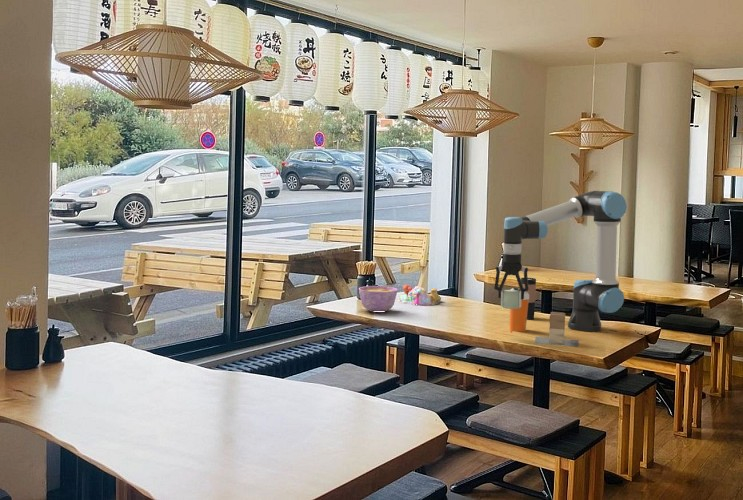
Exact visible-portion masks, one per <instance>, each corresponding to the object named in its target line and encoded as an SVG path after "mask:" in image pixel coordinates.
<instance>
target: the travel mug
mask: <svg viewBox="0 0 743 500" xmlns="http://www.w3.org/2000/svg"><path fill="white" fill-rule="evenodd" d="M520 279H521V282H522V285H523V287H524V288H525V281H524V277H520ZM528 287H529V289H528V291H526V292H527V293H528V294H529V301H528V311H527V321H529V320H530V321H532V320H534V319H535V311H536V309H535V308H536V295H537V294H536V293H537V292H536V291H537V278H534V277H528Z"/></svg>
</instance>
